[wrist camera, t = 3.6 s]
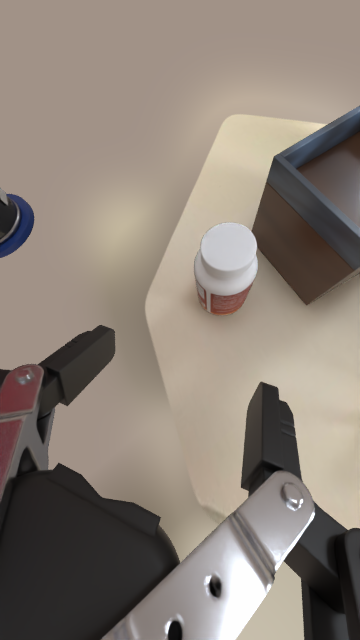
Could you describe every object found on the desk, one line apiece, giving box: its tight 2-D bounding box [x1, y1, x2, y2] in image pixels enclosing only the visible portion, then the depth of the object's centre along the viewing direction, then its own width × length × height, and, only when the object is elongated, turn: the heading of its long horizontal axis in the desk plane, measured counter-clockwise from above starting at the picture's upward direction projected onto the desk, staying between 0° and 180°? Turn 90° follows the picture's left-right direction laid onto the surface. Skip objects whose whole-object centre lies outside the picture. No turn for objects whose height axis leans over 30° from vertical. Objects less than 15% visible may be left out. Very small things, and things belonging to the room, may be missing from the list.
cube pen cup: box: [252, 106, 360, 305], centre depth 23 cm, size 12×12×12 cm
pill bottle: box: [194, 222, 258, 315], centre depth 23 cm, size 6×6×11 cm
